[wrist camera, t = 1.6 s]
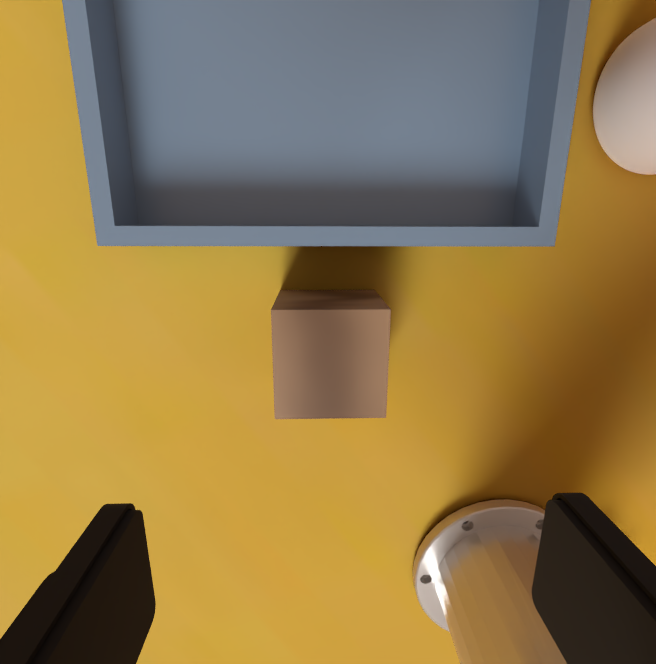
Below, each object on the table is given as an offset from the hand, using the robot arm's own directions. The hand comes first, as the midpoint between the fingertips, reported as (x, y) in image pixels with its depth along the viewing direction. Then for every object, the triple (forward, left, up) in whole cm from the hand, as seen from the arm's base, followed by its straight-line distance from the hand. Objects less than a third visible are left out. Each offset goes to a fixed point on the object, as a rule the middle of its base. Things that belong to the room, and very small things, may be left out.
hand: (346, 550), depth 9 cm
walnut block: (0, 0, -18) cm, 18 cm away
